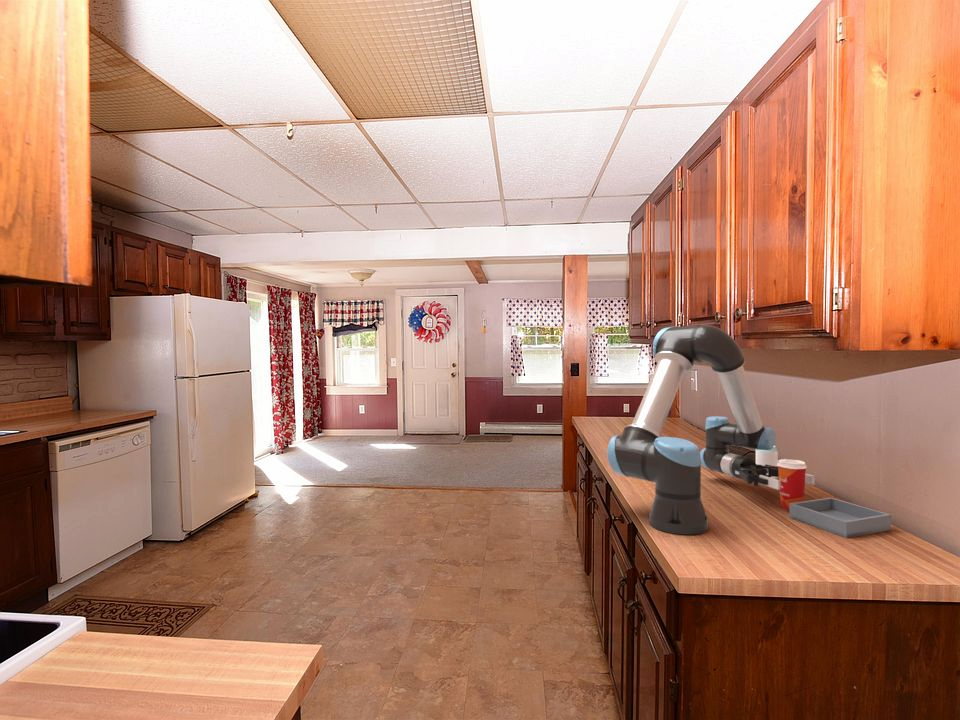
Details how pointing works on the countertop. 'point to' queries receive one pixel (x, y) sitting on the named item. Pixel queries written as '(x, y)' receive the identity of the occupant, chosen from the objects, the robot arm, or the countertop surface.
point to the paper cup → (791, 481)
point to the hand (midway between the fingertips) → (796, 482)
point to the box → (840, 517)
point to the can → (767, 458)
